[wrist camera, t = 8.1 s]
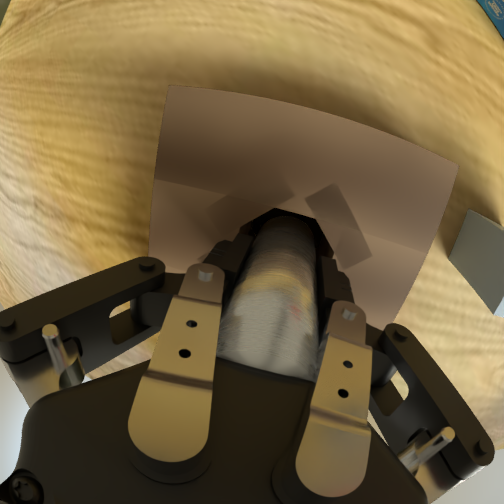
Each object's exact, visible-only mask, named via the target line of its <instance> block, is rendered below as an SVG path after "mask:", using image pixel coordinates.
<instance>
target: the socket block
mask: <svg viewBox="0 0 504 504" xmlns="http://www.w3.org/2000/svg"><path fill="white" fill-rule="evenodd" d="M458 169H459V165H457V164H455V163H453V162H451V161H449V160H447V159H445V158H443V157H441V156H439V155H437V154H435V153H433V152H431V151H429V150H427V149H424V148H422V147H420V146H418V145H415V144H413V143H411V142H408V141H406V140H404V139H401V138H399V137H396V136H394V135H391V134H389V133H386V132H383V131H381V130H378V129H375V128H373V127H370V126H367V125H364V124H361V123H358V122H355V121H352V120H349V119H346V118H343V117H340V116H336V115H333V114H330V113H326V112H323V111H319V110H315V109H312V108H308V107H304V106H300V105H296V104H292V103H288V102H283V101H279V100H274V99H269V98H264V97H259V96H254V95H248V94H242V93H236V92H230V91H223V90H215V89H207V88H198V87H188V86H175V85H169V87H168V92H167V97H166V103H165V108H164V113H163V119H162V125H161V131H160V138H159V144H158V152H157V159H156V167H155V175H154V184H153V194H152V205H151V218H150V232H149V251H148V257H154V258H157V259H159V260H161V261H162V262H163V263H164V264H165V266H166V269H165V272H170V273H186V272H187V269H188V267H189V266H191V265H193V264H197V263H202V262H203V261H204V259H205V258H206V257H207V255H208V254H209V253H210V251H211V250H212V249H213V247H214V246H215V245H216V243H218V242H220V241H223V240H228V241H231V242H233V240H234V239H235V237H236V235H237V234H238V233H241V234H245V235H249V236H252V237H253V243H254V241H255V239H256V235H255V234H254V232H253V231H252V229H251V226H252V221H253V219H255V218H257V217H259V216H260V215H262V214H264V213H266V212H267V211H269V210H271V209H273V208H279V209H283V210H286V211H290V212H294V213H297V214H301V215H305V216H308V217H312V218H315V219H316V220H317V222H318V224H319V226H320V227H321V229H322V231H323V236H322V239H321V242H320V245H319V247H318V248H316V249H315V253H316V265H317V262H318V259H319V257H320V256H325V257H328V258H332V259H336V263H337V268H338V271H341V272H344V273H345V275H346V276H347V277H348V278H349V280H350V284H351V289H352V293H353V297H354V302H355V304H356V305H357V306H359V307H360V308H361V309H362V310H363V311H364V312H365V314H366V323H368V324H369V325H371V326H373V327H375V328H378V329H380V330H382V331H383V330H384V328H385V327H386V325H387V324H390V323H393V321H394V319H395V317H396V316H397V314H398V312H399V310H400V308H401V307H402V305H403V303H404V301H405V299H406V297H407V295H408V293H409V291H410V289H411V287H412V285H413V283H414V281H415V279H416V277H417V275H418V273H419V271H420V269H421V267H422V265H423V263H424V260H425V258H426V256H427V254H428V251H429V249H430V247H431V244H432V242H433V240H434V237H435V235H436V232H437V230H438V227H439V225H440V222H441V220H442V217H443V214H444V212H445V209H446V206H447V203H448V200H449V197H450V194H451V191H452V188H453V185H454V182H455V179H456V176H457V172H458ZM253 243H252V245H253ZM251 248H252V247H251Z"/></svg>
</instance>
